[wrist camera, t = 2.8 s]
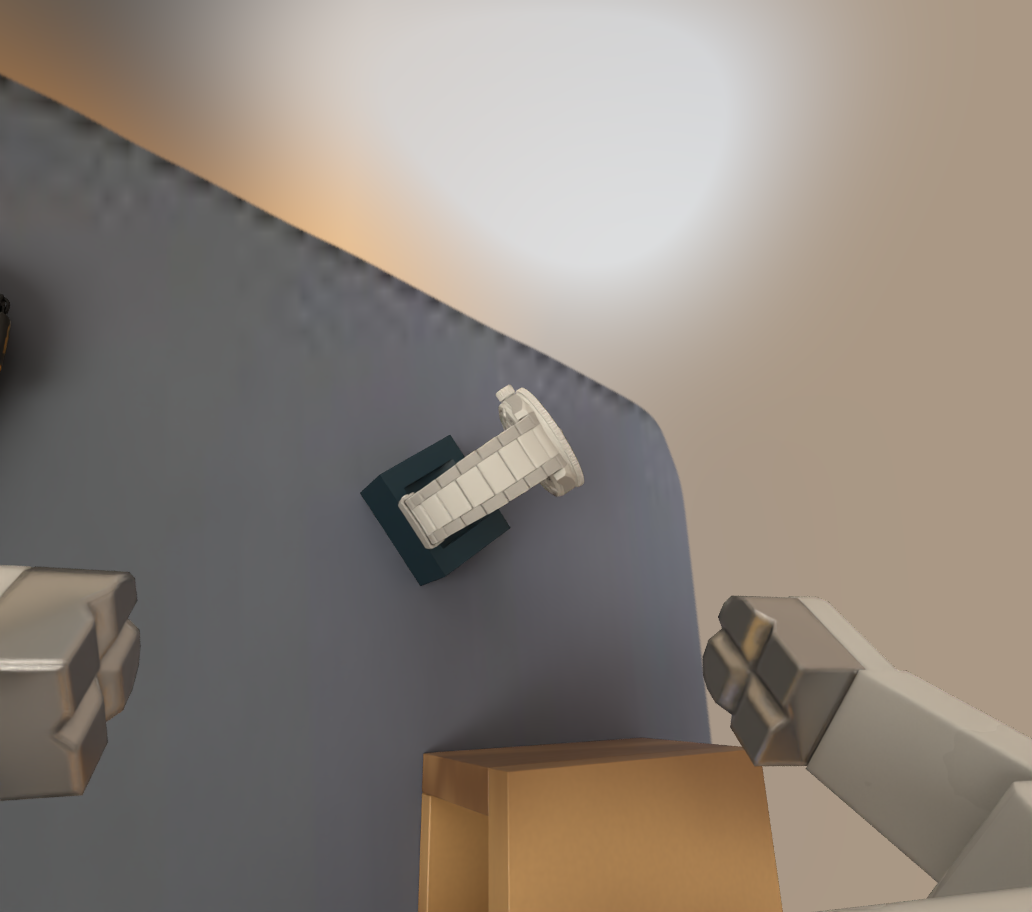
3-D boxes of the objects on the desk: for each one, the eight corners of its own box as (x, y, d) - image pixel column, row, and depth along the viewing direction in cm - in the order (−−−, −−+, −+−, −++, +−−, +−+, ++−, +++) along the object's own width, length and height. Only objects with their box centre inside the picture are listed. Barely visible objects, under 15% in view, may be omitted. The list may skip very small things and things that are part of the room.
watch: (507, 522, 34) (636, 461, 25) (392, 606, 29) (501, 569, 20) (452, 437, 34) (562, 346, 25) (328, 508, 29) (409, 428, 20)
